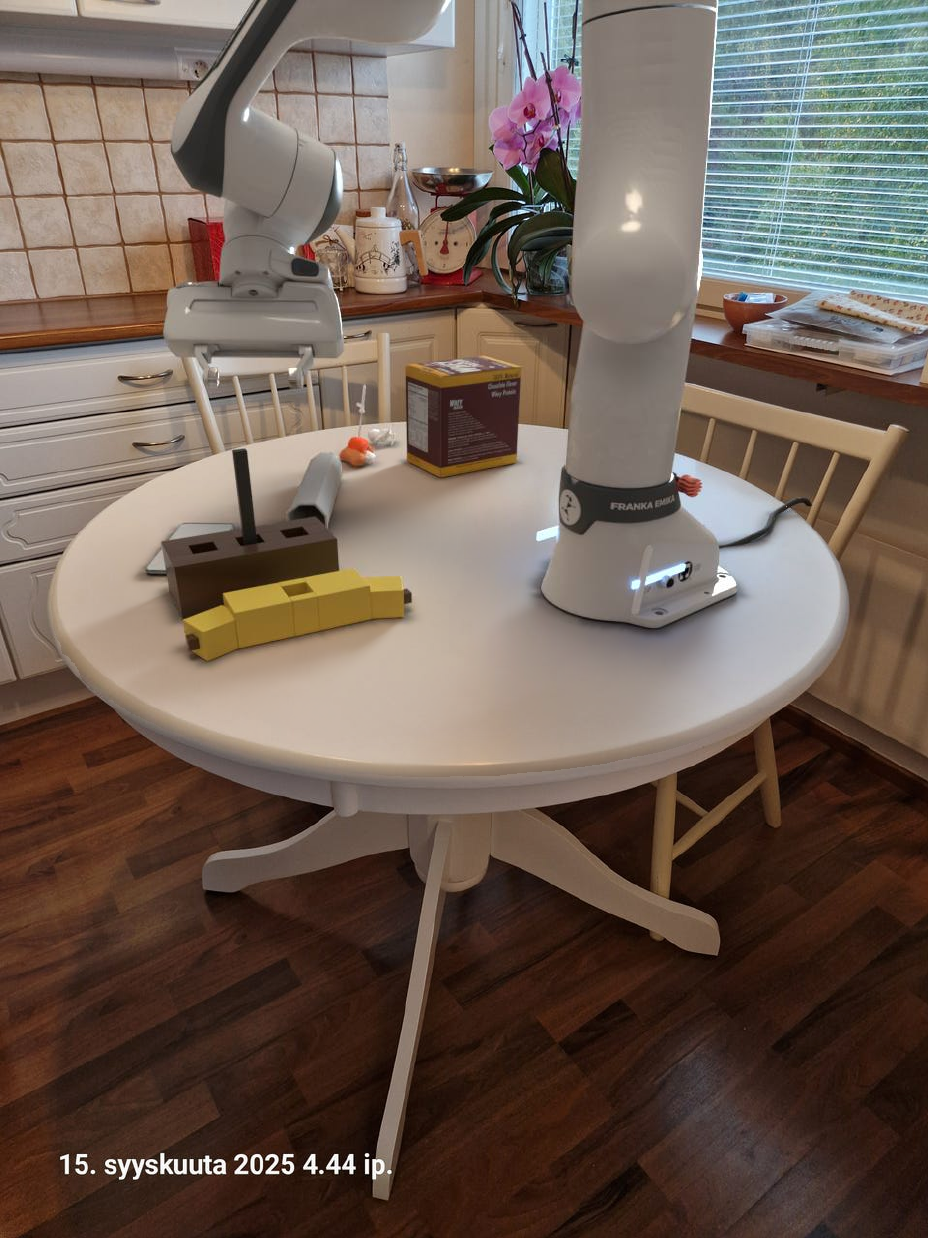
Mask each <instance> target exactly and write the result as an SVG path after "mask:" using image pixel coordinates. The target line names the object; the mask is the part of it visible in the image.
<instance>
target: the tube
mask: <svg viewBox="0 0 928 1238" xmlns="http://www.w3.org/2000/svg"><path fill="white" fill-rule="evenodd" d="M342 478H343V464H342V460H341V459H340V458H339V457H338V456H337V455H336V454H335V453H334V452H321V451H320V452H319V453H318V454H316V455H315V456H314V457H313V458H311V459H310V461H309V463H308V466H307V467H306V470H305V472H304V475H303V477H302V478H301V479H302V480H301V482H300V484H299V486H298V488H297V491H296V494H295V496H294V498H293V500H292V503H291V505H290V507H289V509H288V510H287V511H285V516H286V517H285V519H286V521H291V520H297V519H303V518H309V517H316V518H317V519H318V520H319V521H320V522H321V523H322V524H323V525H324V526H325V527H326V528H327V529H328V530H329V522H330V519H331V515H332V511H333V508H334V506H335V505H334V504H335V501H336V498H337V494H338V491H339V487H340V484H341V480H342Z"/></svg>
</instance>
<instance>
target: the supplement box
mask: <svg viewBox="0 0 928 1238" xmlns="http://www.w3.org/2000/svg"><path fill="white" fill-rule="evenodd" d="M404 368H405V415H406V417H405V418H406V419H405V422H406V425H405V427H406V461H407V462H409V463H410V464H412V465H414V466H417V467H418V468H420V469H422V470H425V471H426V472H429V474H433V475H434V476H437V477H438V478H445V477H450V476H456V475H461V474H466V473H472V472H477V471H481V470H487V469H491V468H496V467H501V466H502V467H503V466H507V465H511V464H516V463H517V462H518V461H517V460H518V442H519V441H518V439H519V422H520V421H519V420H520V404H521V403H520V402H521V384H522V382H521V381H522V366H520V365H517V364H513V363H510V362H507V361H503V360H499V359H496V358H493V357H489V356H487V355H477V356H472V357H471V356H470V357H464V358H463V357H462V358H452V359H443V360H435V361H426V362H419V363H410V364H407V365H405V367H404Z"/></svg>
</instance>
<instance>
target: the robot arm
mask: <svg viewBox="0 0 928 1238" xmlns="http://www.w3.org/2000/svg"><path fill="white" fill-rule="evenodd" d="M451 2H452V0H252V2H251V4H250V5H249V7H248V8H247V10H246V12H245V13H244V14H243V16H242V18H241V19H240V21H239V23H238V24H237V26H236V27H235V29H234V31H233V32H232V34H231V36H230V37H229V38H228V40H227V41H226V43H225V45H224V47H223V48H222V49H221V51H220V53H219V54H218V56H217V57H216V59H215V61H214V62H213V64H212V65H211V67H210V68H209V69H208V71H207V72H206V73H205V75H204V77H202V79H201V80H200V81H199V82H198V83H197V84H196V86H195V87H194V88H193V90H192V91H191V92H190V94H189V95H188V97H187V98H186V100H185V101H184V102H183V103H182V105H181V107H180V109H179V110H178V112H177V114H176V117H175V120H174V123H173V127H172V131H171V141H170V154H171V156H172V159H173V160H174V163H175V164H176V167H177V169H178V170H179V172H180V174H181V175H182V177H183V178H184V180H185V182H186V183H187V184H188V185H189V186H190V188H191V189H193V190H196V191H199V192H202V193H204V194H208V195H211V196H214V197H216V198H218V199H221V198H223V199H224V208H223V217H222V230H223V235H224V242H223V244H222V247H221V252H220V263H219V264H220V265H219V279H218V281H192V280H191V281H190V280H186V281H185V280H184V281H181V282H180V284H176V285H174V286H173V287H171V288H169V289H168V291H167V294H166V295H167V296H166V314H165V317H164V318H165V319H164V324H163V331H162V332H163V333H162V335H163V339H164V342H165V344H166V346H167V347H168V349H169V351H170V352H171V353H172V354H173V355H174V356H175V357H177V358H196V360H197V363H198V365H199V366H200V368H201V370H202V372H203V373H202V382H203V385H204V386H205V387H204V388H205V389H220V386H221V385H220V382H221V374H220V372H219V370H218V367H215V366H210V365H211V364H212V358H213V359H215V358H218V359H219V358H223V359H224V358H225V359H234V358H235V359H238V358H239V359H300V360H299V362H298V363H297V365H296V366H295V367H288V376H287V377H288V382H287V383H288V385H289V389H296V390H297V389H301V390H303V389H304V378H305V377H306V375H307V374H308V373H309V371H310V370H311V369H312V367H313V366H314V359H338V358H340V356H342V354H343V353H344V352H345V337H344V329H343V327H344V326H343V321H342V314H341V309H340V303H339V299H338V296H337V294H336V292H335V290H334V282H333V279H332V275H331V271H330V269H329V267H328V265H327V264H325V263H322V262H320V261H315V260H312V259H309V258H306V257H305V258H304V257H303V256H299V255H296V252H297V250H298V248H299V247H300V246H304V247H305V246H306V245H309V244H310V243H312V242H314V241H315V240H317V239H318V238H319V237H321V236H322V235H324V234H325V233H326V232H327V231H329V230H330V228H332V226H333V224H334V223H335V221H336V220H337V218H338V215H339V213H340V210H341V206H342V202H343V195H344V176H343V175H344V174H343V171H342V166H341V162H340V159H339V157H338V155H337V153H336V151H335V150H334V149H333V148H331V147H330V146H329V145H327V144H325V143H324V142H322V141H320V140H318V139H316V138H315V137H313V136H312V135H309V134H307V133H305V132H303V131H301V130H299V129H298V128H296V127H293V126H290V125H288V124H287V123H285V122H283V121H281V120H279V119H277V118H276V117H273V116H272V115H270V114H268V113H266V112H264V111H262V110H261V109H258V108H256V107H255V106H253V105H251V104H252V102H253V101H254V99H255V97H256V96H257V95H258V94H259V92H260V90H261V89H262V87H263V86H264V84H265V83H266V81H267V80H268V78H269V77H270V76H271V74H272V72H273V71H274V69H275V68H276V66H277V65H278V64H279V62H280V61H281V59H282V58H283V56H284V55H285V54H286V53H287V52H288V50H289V49H290V48H292V47H293V46H295V45H297V44H299V43H301V42H304V41H307V40H315V39H334V40H344V41H351V42H354V43H355V42H356V43H360V44H366V45H371V46H379V47H381V46H382V47H390V46H400V45H404V44H408V43H410V42H414V41H416V40H418V39H420V38H421V37H424V36H425V35H426V34H428V33H429V32H430V31H431V30H432V29H433V28H434V26H435V25H436V24H437V23H438V21H439V20H440V19H441V17H442V16H443V15H444V13H445V11H446V10H447V8H448V7H449V5H450V4H451ZM718 8H719V0H581V21H580V22H581V29H580V30H581V31H580V32H581V34H580V35H581V37H580V39H581V40H580V41H581V43H580V44H581V46H580V49H581V51H580V56H581V57H580V80H581V81H580V143H579V153H578V154H579V155H578V164H577V175H576V184H575V197H574V212H573V225H572V226H573V229H572V246H571V247H572V250H571V270H570V271H571V272H570V289H571V290H570V292H571V297H572V302H573V305H574V308H575V310H576V312H577V314H578V316H579V317H580V319H581V320H582V327H581V328H582V329H581V334H580V335H581V336H580V342H579V347H578V355H577V359H576V360H577V361H576V365H575V372H574V378H573V383H572V386H571V391H570V403H569V404H570V405H569V417H568V428H567V439H566V440H567V442H566V454H565V464H564V465H563V466H562V467H561V470H560V471H561V472H560V477H559V478H560V479H559V488H558V489H559V490H558V525H555V526H553V527H549V528H545V529H543V530H539V531H537V532H536V541H538V542H540V541H543V540H547V539H549V538H552V537H555V540H554V546H553V550H552V553H551V557H550V560H549V564H548V567H547V569H546V572H545V574H544V578H543V579H542V582H541V586H540V587H541V592H542V594H543V596H544V597H545V598H546V599H547V601H548V602H550V603H551V604H552V605H553V606H556V607H557V608H559V609H561V610H562V611H565V612H568V613H570V614H573V615H576V616H580V617H583V618H588V619H592V620H598V621H608V622H621V623H627V624H631V625H636V626H640V627H643V628H648V629H659V628H662V627H664V626H667V625H670V624H671V623H673V622H675V621H678V620H680V619H682V618H684V617H686V616H689V615H692V614H694V613H695V612H698V611H700V610H702V609H704V608H707V607H709V606H711V605H713V604H715V603H718V602H720V601H723V600H724V599H726V598H729V597H731V596H733V595H736V594H737V591H738V584H737V582H736V580H735V578H734V577H733V576H732V575H731V574H730V573H729V572H728V571H726V570H725V569H724V568H722V567H721V566H720V549H723V548H729V547H738V546H742V545H745V544H749V543H751V542H753V541H755V540H756V539H759V538H761V537H763V536H765V535H766V534H767V533H769V532H770V531H771V530H772V528H773V526H774V523H775V520H776V519H777V517H778V516H779V515H781V514H782V513H784V512H786V511H787V510H788V509H790V508H792V507H793V506H795V505H798V504H804V505H805V507H812V506H813V503H812V501H811V500H810V499H809V498H807V497H803V496H800V497H795V498H793V499H790V500H789V501H787V502H786V503H784V504H783V505H781V506H780V507H778V508H777V509H775V510H773V511H772V512H771V513H770V515H769V516H768V519H767V522H766V525H764V527H763V528H761V529H760V530H758V531H755V532H753V533H752V534H749V535H747V536H745V537H743V538H740V539H738V540H735V541H733V542H729V543H725V544H719V542H718V539H717V537H716V535H715V534H714V532H712V531H711V530H710V529H709V528H708V527H707V526H706V524H703V523H702V522H701V521H700V520H698V519H697V518H696V517H695V516H694V515H693V514H691V513H690V512H689V511H688V510H687V509H686V508H685V507H684V506H683V505H682V501H681V497H680V494H684V495H686V496H688V497H690V498H696V497H697V496H698V495H699V493H700V492H701V491H702V488H703V482H701V479H699V478H696V477H692V476H691V475H689V474H683V475H682V476H678V474H677V473H676V472H675V471H673V468H674V462H675V455H676V446H677V439H678V433H679V427H680V426H679V425H680V419H681V412H682V404H683V397H684V391H685V384H686V377H687V370H688V363H689V357H690V351H691V344H692V337H693V330H694V323H695V316H696V310H697V303H698V297H699V290H700V284H701V277H702V269H703V251H702V234H703V220H704V205H705V193H706V192H705V191H706V180H707V179H706V178H707V168H708V167H707V165H708V152H709V141H710V140H709V139H710V129H711V117H712V116H711V115H712V100H713V87H714V86H713V85H714V70H715V69H714V68H715V66H714V65H715V54H716V39H717V24H718V23H717V22H718ZM786 506H787V507H786Z"/></svg>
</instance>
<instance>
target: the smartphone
mask: <svg viewBox="0 0 928 1238" xmlns="http://www.w3.org/2000/svg"><path fill="white" fill-rule="evenodd" d="M229 530H235V524H234V523H229V522H228V523H227V522H225V523H223V522H222V523H221V522H219V523H218V522H184V523H181V524H179V526H178V527H177V529H175V531H174V532H173V533H172V534H171V536H170V537H169V539H168V540H173V539H179V538H185V537H191V536H198V535H204V534H210V533H216V532H223V531H229ZM144 571H145V572H146V573H147V574H153V575H155V574H156V575H157V574H158V575H167V574H166V568H165V562H164V556H163V551H162V547H161V548H160V550H159V551H158V552H157V553H156V554H155V556H154V557H153V558H152V560H151V561H150V562H149V563H148V565H147V566H146V567H145V568H144Z"/></svg>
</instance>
